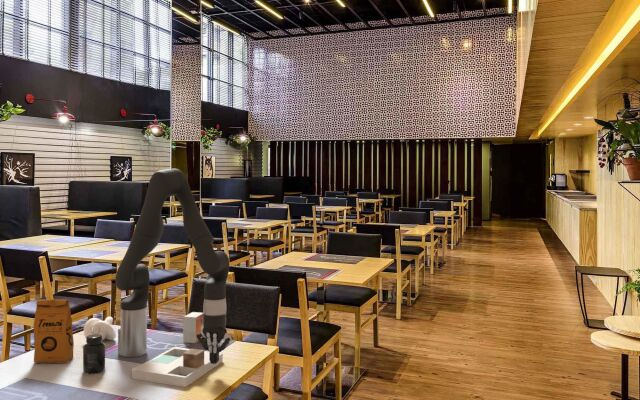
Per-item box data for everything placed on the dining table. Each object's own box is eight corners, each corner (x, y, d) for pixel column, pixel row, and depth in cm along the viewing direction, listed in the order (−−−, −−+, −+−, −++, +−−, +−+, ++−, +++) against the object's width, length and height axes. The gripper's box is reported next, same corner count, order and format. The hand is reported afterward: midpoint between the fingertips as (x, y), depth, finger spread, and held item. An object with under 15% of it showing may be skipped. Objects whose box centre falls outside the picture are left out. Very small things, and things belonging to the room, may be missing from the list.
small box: (195, 343, 201) (195, 317, 200) (182, 342, 202) (182, 316, 202) (204, 337, 209) (204, 312, 208) (191, 336, 210) (191, 311, 209)
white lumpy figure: (124, 339, 205) (124, 317, 205) (100, 347, 194) (100, 324, 194) (104, 335, 210) (104, 313, 209) (79, 343, 199) (79, 320, 199)
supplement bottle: (109, 369, 172) (109, 334, 172) (94, 376, 166) (94, 340, 165) (93, 366, 175) (93, 331, 174) (78, 373, 168) (78, 337, 168)
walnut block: (183, 366, 168) (183, 353, 167) (191, 361, 172) (191, 348, 172) (196, 368, 166) (196, 355, 166) (204, 363, 171) (204, 350, 171)
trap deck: (131, 378, 164) (132, 369, 164) (174, 355, 187) (174, 347, 187) (185, 387, 158) (185, 377, 158) (222, 361, 181) (222, 353, 181)
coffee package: (66, 365, 175) (66, 302, 174) (29, 365, 174) (29, 302, 173) (78, 355, 184) (78, 296, 184) (43, 355, 184) (43, 296, 183)
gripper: (191, 312, 166) (190, 364, 167) (227, 316, 162) (226, 369, 163) (203, 307, 173) (202, 357, 174) (237, 310, 169) (237, 361, 170)
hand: (214, 363), depth 168 cm, fingers closed
